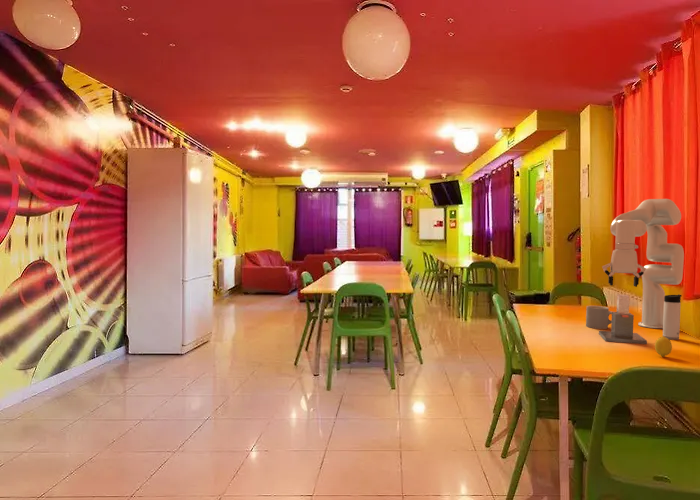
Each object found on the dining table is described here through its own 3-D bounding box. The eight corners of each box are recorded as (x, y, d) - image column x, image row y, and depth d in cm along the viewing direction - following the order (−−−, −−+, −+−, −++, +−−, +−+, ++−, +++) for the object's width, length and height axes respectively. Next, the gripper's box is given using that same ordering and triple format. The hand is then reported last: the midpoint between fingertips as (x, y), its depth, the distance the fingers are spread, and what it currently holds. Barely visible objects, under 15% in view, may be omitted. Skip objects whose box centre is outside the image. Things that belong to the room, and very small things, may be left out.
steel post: (615, 333, 224) (617, 294, 223) (625, 334, 223) (627, 294, 222) (617, 335, 220) (619, 295, 219) (628, 336, 219) (629, 296, 218)
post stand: (598, 333, 231) (599, 309, 231) (637, 336, 227) (637, 311, 226) (605, 341, 216) (606, 315, 216) (646, 344, 211) (647, 317, 211)
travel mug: (682, 340, 220) (684, 295, 219) (666, 339, 221) (667, 295, 220) (676, 337, 226) (677, 293, 225) (660, 336, 227) (661, 293, 226)
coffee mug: (585, 327, 246) (585, 307, 246) (586, 324, 255) (587, 305, 255) (615, 330, 240) (616, 310, 239) (616, 327, 248) (616, 307, 248)
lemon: (651, 355, 193) (652, 334, 192) (664, 354, 193) (665, 334, 193) (661, 358, 187) (662, 338, 187) (675, 358, 188) (675, 337, 187)
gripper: (644, 247, 220) (642, 286, 221) (601, 246, 226) (600, 284, 226) (649, 248, 213) (647, 287, 214) (604, 247, 218) (603, 285, 219)
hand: (623, 285), depth 220 cm, fingers open, 9 cm apart
